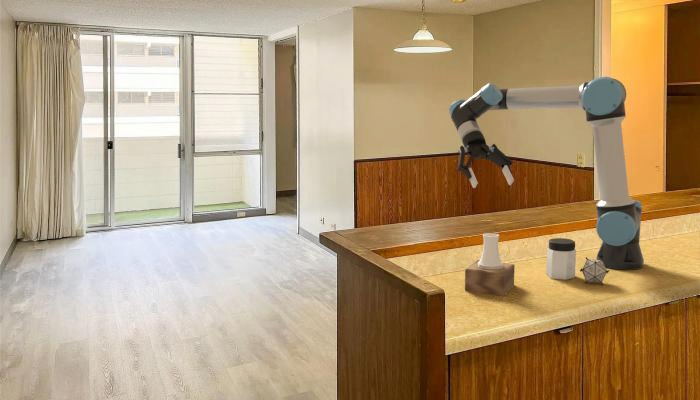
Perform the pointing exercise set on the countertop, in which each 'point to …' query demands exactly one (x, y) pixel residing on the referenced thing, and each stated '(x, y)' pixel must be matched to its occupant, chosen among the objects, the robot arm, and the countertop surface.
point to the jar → (561, 259)
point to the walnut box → (489, 279)
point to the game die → (594, 270)
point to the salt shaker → (490, 252)
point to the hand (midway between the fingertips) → (493, 184)
